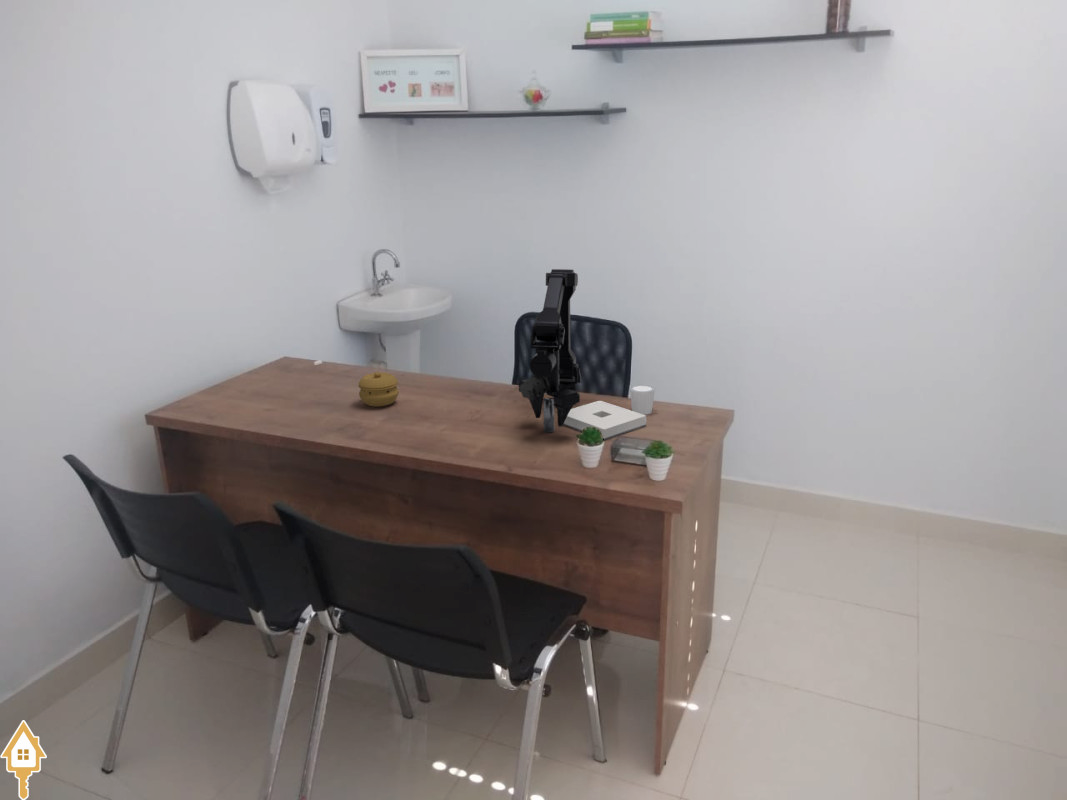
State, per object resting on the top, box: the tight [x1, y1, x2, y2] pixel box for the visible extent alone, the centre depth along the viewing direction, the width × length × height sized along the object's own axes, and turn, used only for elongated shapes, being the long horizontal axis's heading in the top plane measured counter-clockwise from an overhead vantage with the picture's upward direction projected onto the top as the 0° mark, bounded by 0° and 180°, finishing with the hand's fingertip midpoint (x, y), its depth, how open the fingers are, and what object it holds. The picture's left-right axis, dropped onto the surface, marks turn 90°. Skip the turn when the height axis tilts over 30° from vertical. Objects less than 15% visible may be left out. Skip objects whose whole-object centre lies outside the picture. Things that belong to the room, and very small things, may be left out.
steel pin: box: [543, 397, 555, 434], centre depth 221 cm, size 3×3×9 cm
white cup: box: [629, 384, 656, 416], centre depth 235 cm, size 7×7×7 cm
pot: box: [358, 371, 400, 408], centre depth 246 cm, size 12×12×10 cm
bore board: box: [563, 400, 647, 441], centre depth 226 cm, size 18×16×3 cm
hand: (549, 422), depth 222 cm, fingers open, 9 cm apart
